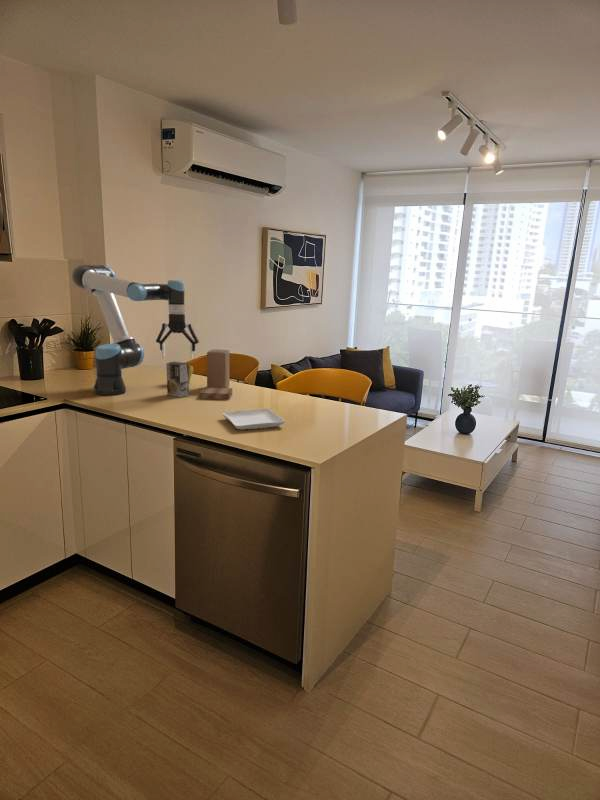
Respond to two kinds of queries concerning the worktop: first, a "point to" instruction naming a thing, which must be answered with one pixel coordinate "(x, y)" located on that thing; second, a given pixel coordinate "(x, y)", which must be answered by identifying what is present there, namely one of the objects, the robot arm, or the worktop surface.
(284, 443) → the worktop surface
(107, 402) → the worktop surface
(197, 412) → the worktop surface
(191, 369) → the plant pot
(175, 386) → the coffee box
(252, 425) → the salad plate
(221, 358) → the block
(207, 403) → the worktop surface
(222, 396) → the walnut riser
